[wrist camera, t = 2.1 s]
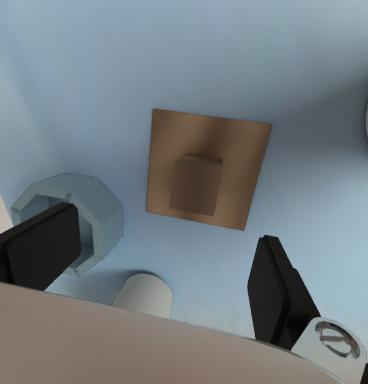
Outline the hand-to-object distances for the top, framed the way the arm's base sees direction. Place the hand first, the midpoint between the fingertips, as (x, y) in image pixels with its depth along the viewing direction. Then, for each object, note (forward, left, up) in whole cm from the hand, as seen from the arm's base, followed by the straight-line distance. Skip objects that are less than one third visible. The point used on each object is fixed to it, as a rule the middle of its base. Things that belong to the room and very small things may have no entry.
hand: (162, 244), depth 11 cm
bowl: (+14, +8, -14) cm, 22 cm away
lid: (-1, 0, -15) cm, 15 cm away
